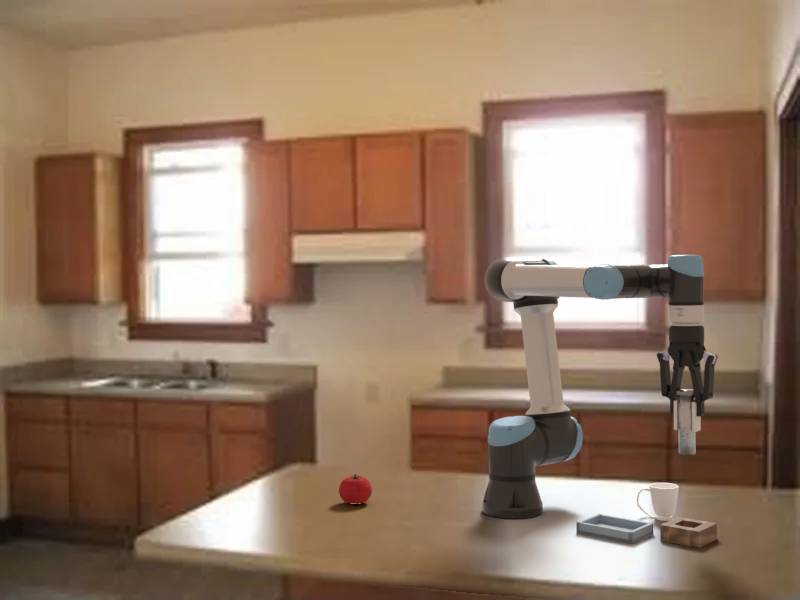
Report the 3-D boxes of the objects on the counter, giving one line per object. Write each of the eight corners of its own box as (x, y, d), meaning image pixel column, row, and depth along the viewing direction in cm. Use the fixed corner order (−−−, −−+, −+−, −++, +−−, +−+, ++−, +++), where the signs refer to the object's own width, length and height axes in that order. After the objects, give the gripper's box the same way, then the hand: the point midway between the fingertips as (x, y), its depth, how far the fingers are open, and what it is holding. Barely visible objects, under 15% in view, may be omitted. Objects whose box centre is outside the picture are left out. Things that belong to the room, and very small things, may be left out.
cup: (677, 523, 219) (677, 489, 219) (634, 519, 223) (634, 486, 223) (681, 516, 225) (680, 483, 225) (639, 513, 229) (638, 480, 229)
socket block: (660, 540, 205) (660, 524, 205) (678, 532, 212) (678, 516, 211) (699, 547, 199) (699, 531, 199) (716, 538, 205) (716, 523, 205)
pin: (679, 450, 208) (679, 388, 208) (701, 452, 205) (700, 389, 205) (672, 453, 204) (672, 390, 204) (694, 455, 201) (694, 391, 201)
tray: (576, 533, 212) (576, 522, 212) (599, 524, 219) (598, 513, 219) (631, 544, 202) (631, 532, 202) (653, 534, 210) (653, 523, 210)
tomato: (378, 502, 245) (378, 472, 245) (359, 509, 238) (359, 478, 238) (351, 498, 250) (351, 469, 250) (332, 505, 242) (331, 475, 242)
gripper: (643, 324, 207) (644, 428, 208) (715, 326, 196) (716, 436, 196) (659, 323, 213) (660, 424, 213) (730, 324, 201) (731, 431, 202)
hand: (687, 429), depth 205 cm, fingers closed on pin, 4 cm apart
